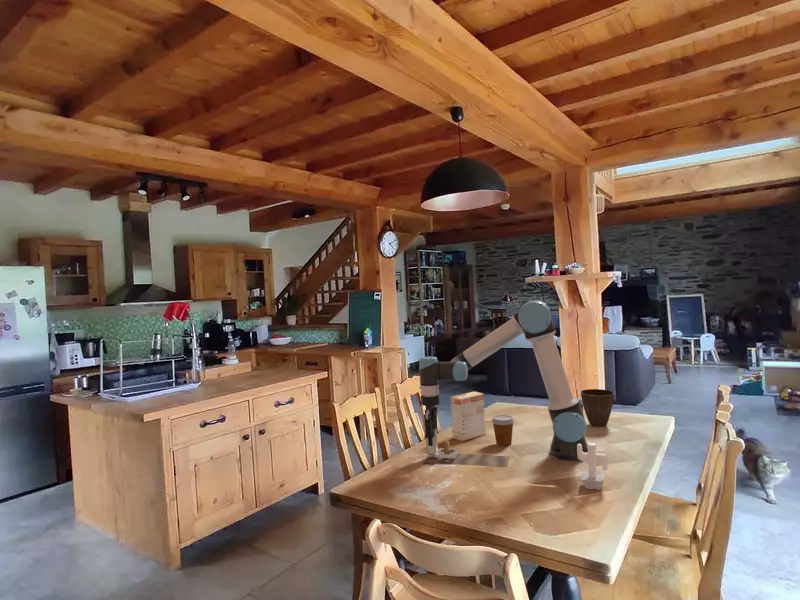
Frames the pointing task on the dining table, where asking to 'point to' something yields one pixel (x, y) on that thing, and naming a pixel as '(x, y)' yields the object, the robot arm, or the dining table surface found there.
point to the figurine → (592, 466)
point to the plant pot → (597, 406)
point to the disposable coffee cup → (503, 429)
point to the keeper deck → (468, 459)
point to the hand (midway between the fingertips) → (432, 451)
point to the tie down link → (441, 449)
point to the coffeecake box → (468, 416)
